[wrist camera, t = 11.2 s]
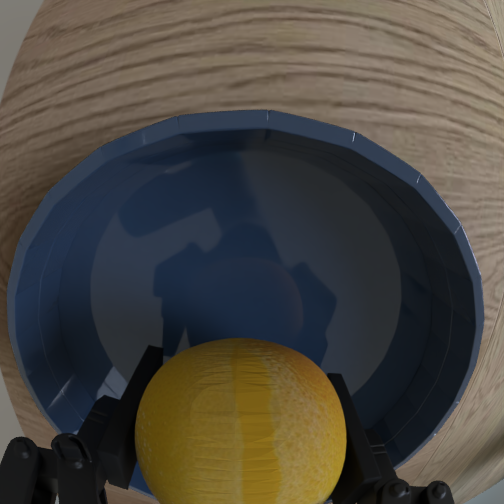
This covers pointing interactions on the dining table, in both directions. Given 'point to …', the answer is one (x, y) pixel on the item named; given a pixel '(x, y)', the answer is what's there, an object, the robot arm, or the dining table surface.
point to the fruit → (240, 427)
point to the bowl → (249, 268)
